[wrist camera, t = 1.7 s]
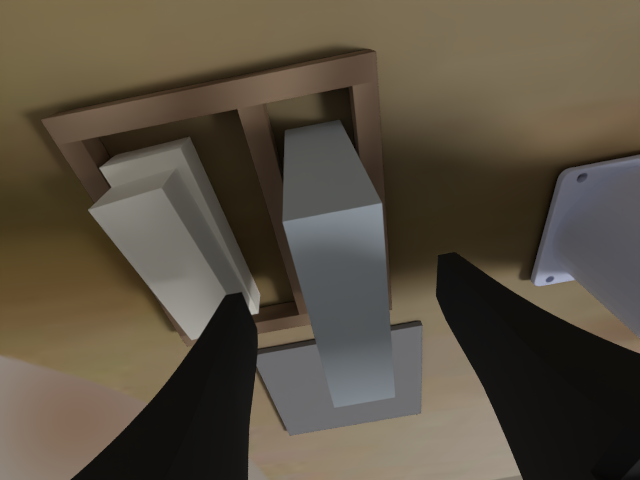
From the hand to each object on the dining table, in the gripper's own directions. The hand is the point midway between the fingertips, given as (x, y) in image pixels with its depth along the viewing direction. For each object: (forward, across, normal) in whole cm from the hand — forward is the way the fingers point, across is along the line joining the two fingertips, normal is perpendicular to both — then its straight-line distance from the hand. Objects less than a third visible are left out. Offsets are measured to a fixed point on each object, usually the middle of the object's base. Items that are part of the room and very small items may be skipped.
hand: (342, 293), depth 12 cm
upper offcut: (+5, +7, 0) cm, 8 cm away
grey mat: (+6, +1, +16) cm, 17 cm away
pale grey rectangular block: (+6, 0, 0) cm, 6 cm away
